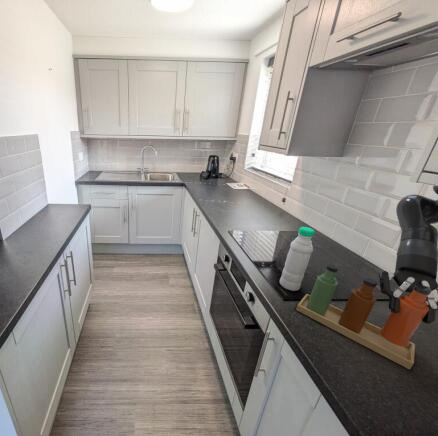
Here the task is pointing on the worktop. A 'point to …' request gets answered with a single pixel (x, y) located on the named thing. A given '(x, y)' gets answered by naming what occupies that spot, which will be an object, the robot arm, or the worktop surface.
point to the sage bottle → (323, 291)
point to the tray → (363, 335)
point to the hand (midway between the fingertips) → (410, 317)
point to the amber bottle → (359, 306)
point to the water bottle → (297, 259)
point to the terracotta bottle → (406, 316)
